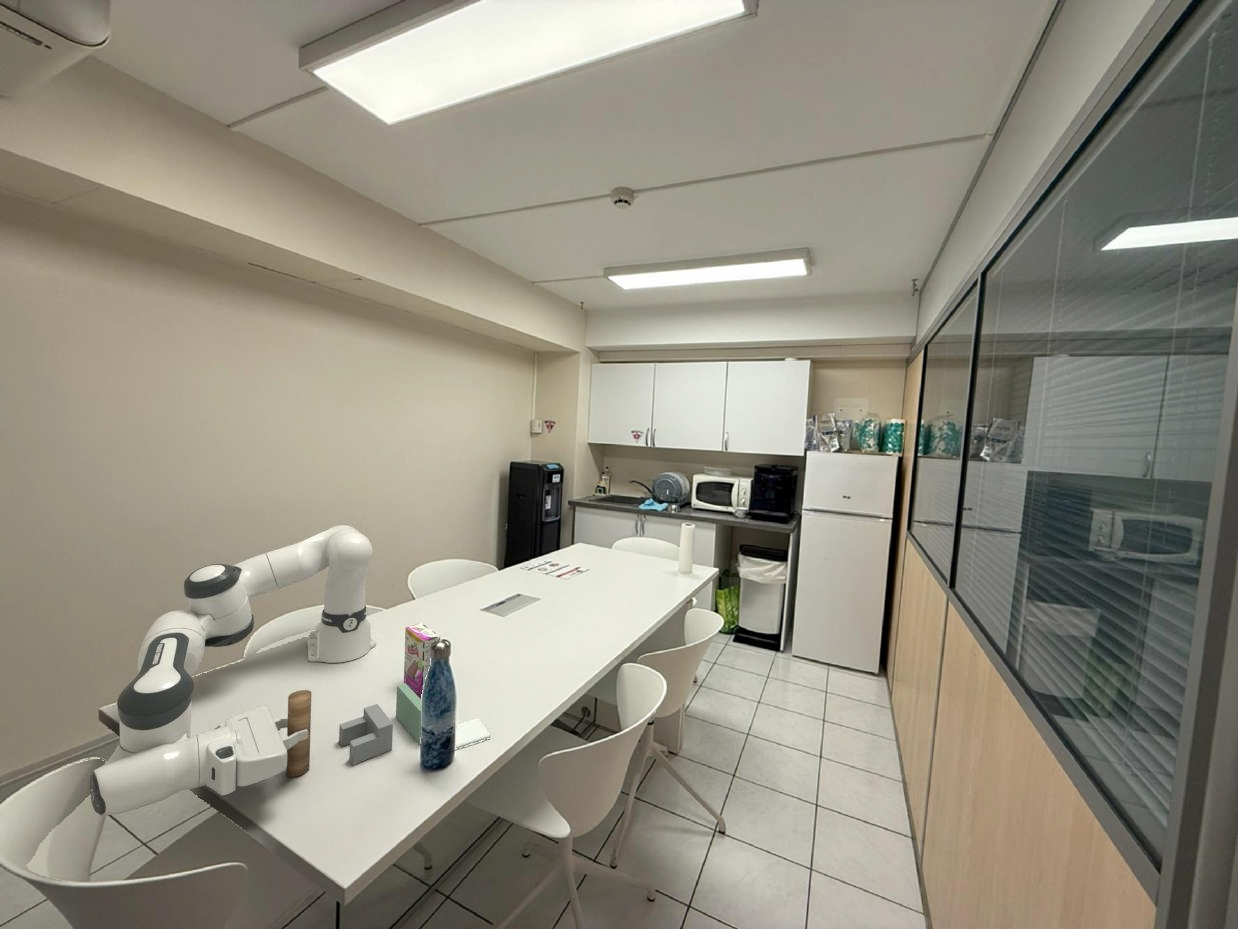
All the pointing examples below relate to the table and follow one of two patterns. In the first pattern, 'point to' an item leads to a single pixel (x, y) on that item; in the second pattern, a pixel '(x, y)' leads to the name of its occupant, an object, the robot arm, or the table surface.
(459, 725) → the external hard drive
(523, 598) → the table surface
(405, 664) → the candy bar box
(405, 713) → the wall
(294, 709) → the dowel
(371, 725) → the block
